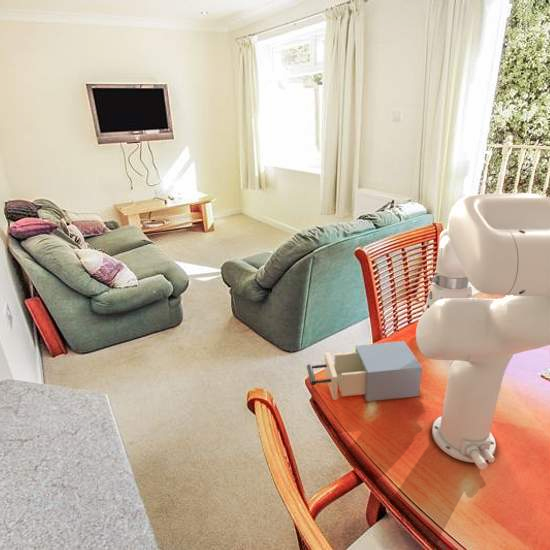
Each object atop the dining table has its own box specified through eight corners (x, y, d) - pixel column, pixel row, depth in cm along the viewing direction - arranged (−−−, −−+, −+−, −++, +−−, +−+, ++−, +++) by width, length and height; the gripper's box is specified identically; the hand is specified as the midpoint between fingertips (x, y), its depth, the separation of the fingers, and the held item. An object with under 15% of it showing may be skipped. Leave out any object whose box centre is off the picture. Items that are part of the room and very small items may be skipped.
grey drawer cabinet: (366, 401, 95) (368, 372, 91) (354, 372, 106) (355, 345, 102) (419, 396, 96) (422, 367, 92) (401, 367, 106) (404, 340, 103)
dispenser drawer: (312, 402, 95) (311, 379, 92) (306, 375, 104) (305, 354, 101) (381, 395, 95) (382, 372, 93) (368, 369, 105) (369, 348, 102)
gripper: (424, 288, 88) (417, 354, 95) (493, 282, 88) (482, 348, 95) (411, 276, 95) (406, 338, 101) (476, 271, 95) (466, 333, 102)
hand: (443, 342), depth 98 cm, fingers closed on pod, 4 cm apart
